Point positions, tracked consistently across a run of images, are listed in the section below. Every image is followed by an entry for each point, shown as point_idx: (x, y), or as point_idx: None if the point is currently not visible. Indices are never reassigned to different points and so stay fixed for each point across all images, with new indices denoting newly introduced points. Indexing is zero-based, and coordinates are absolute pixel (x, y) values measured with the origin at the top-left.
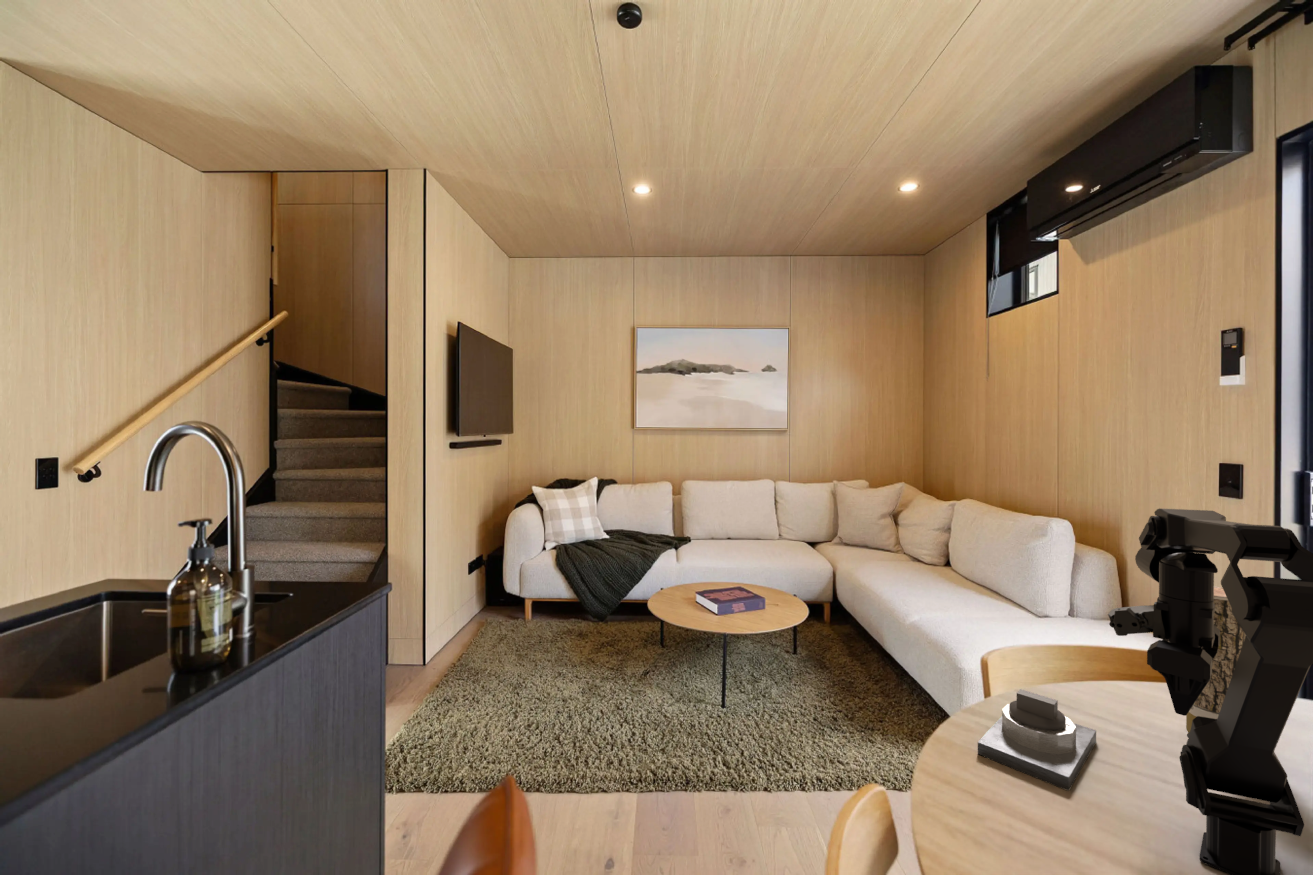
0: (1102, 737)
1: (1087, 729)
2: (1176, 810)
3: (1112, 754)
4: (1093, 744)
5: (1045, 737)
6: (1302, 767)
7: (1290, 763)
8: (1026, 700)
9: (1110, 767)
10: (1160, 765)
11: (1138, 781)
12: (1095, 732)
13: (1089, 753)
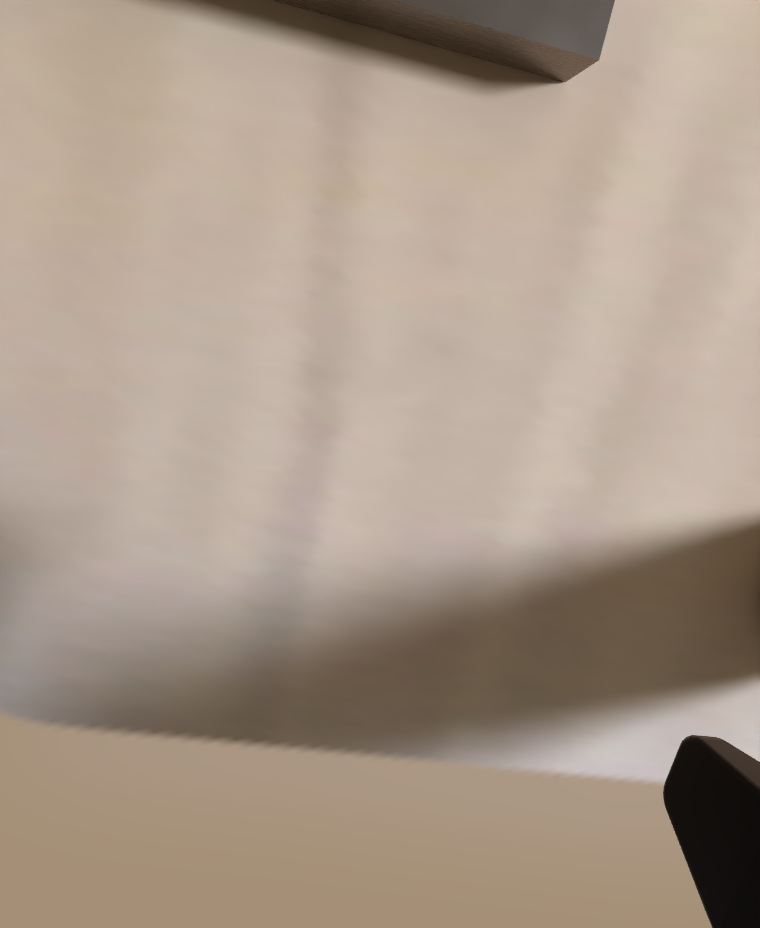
0: (643, 122)
1: (581, 2)
2: (62, 396)
3: (460, 161)
4: (497, 57)
5: None
6: None
7: None
8: None
9: (296, 139)
10: (474, 371)
11: (233, 263)
12: (575, 56)
13: (391, 32)
